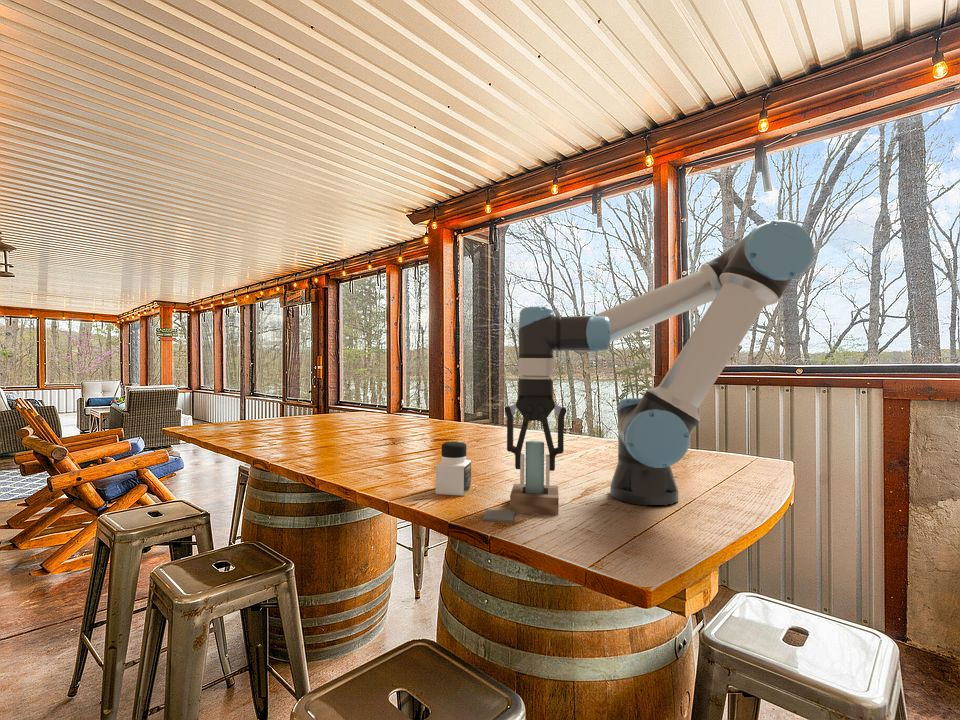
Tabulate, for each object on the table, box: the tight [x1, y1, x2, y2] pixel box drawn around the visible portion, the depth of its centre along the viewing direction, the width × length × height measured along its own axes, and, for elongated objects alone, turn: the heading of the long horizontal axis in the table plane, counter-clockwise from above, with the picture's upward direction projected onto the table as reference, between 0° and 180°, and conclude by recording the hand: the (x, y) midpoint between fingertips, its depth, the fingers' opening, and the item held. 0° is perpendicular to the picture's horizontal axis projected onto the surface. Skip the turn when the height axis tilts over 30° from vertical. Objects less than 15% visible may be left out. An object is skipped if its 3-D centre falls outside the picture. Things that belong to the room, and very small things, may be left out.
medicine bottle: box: [435, 440, 472, 497], centre depth 114 cm, size 7×7×12 cm
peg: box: [524, 440, 545, 494], centre depth 102 cm, size 4×4×14 cm
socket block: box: [509, 483, 560, 516], centre depth 102 cm, size 10×10×4 cm
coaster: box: [481, 508, 516, 523], centre depth 95 cm, size 6×6×1 cm
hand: (534, 484), depth 102 cm, fingers open, 5 cm apart
